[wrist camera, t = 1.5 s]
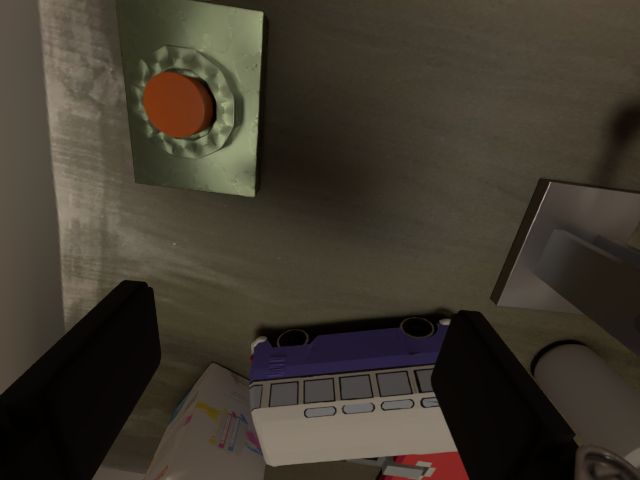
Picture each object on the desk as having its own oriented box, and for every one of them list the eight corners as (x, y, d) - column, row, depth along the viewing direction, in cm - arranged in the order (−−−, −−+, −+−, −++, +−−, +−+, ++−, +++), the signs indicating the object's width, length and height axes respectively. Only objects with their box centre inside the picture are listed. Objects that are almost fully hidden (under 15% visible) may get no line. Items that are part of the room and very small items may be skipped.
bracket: (540, 178, 26) (726, 240, 14) (640, 191, 26) (899, 262, 15) (490, 298, 31) (597, 420, 19) (576, 308, 31) (732, 431, 19)
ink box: (238, 433, 38) (202, 589, 26) (176, 405, 36) (104, 560, 24) (277, 392, 35) (257, 545, 23) (212, 359, 33) (152, 509, 21)
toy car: (460, 373, 35) (511, 470, 25) (268, 391, 35) (251, 492, 26) (466, 302, 31) (529, 387, 22) (250, 325, 32) (224, 415, 22)
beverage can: (518, 376, 35) (611, 502, 24) (552, 332, 32) (673, 450, 21) (566, 388, 36) (677, 515, 25) (603, 347, 33) (744, 467, 22)
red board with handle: (355, 396, 35) (321, 472, 41) (358, 420, 33) (322, 497, 39) (583, 434, 39) (521, 499, 45) (601, 458, 37) (534, 523, 43)
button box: (133, -2, 21) (93, -25, 17) (269, 19, 21) (259, 2, 18) (149, 176, 25) (121, 189, 22) (259, 190, 26) (250, 205, 22)
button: (154, 70, 19) (139, 67, 18) (213, 78, 19) (204, 76, 18) (158, 131, 21) (145, 133, 19) (213, 138, 21) (205, 141, 19)
